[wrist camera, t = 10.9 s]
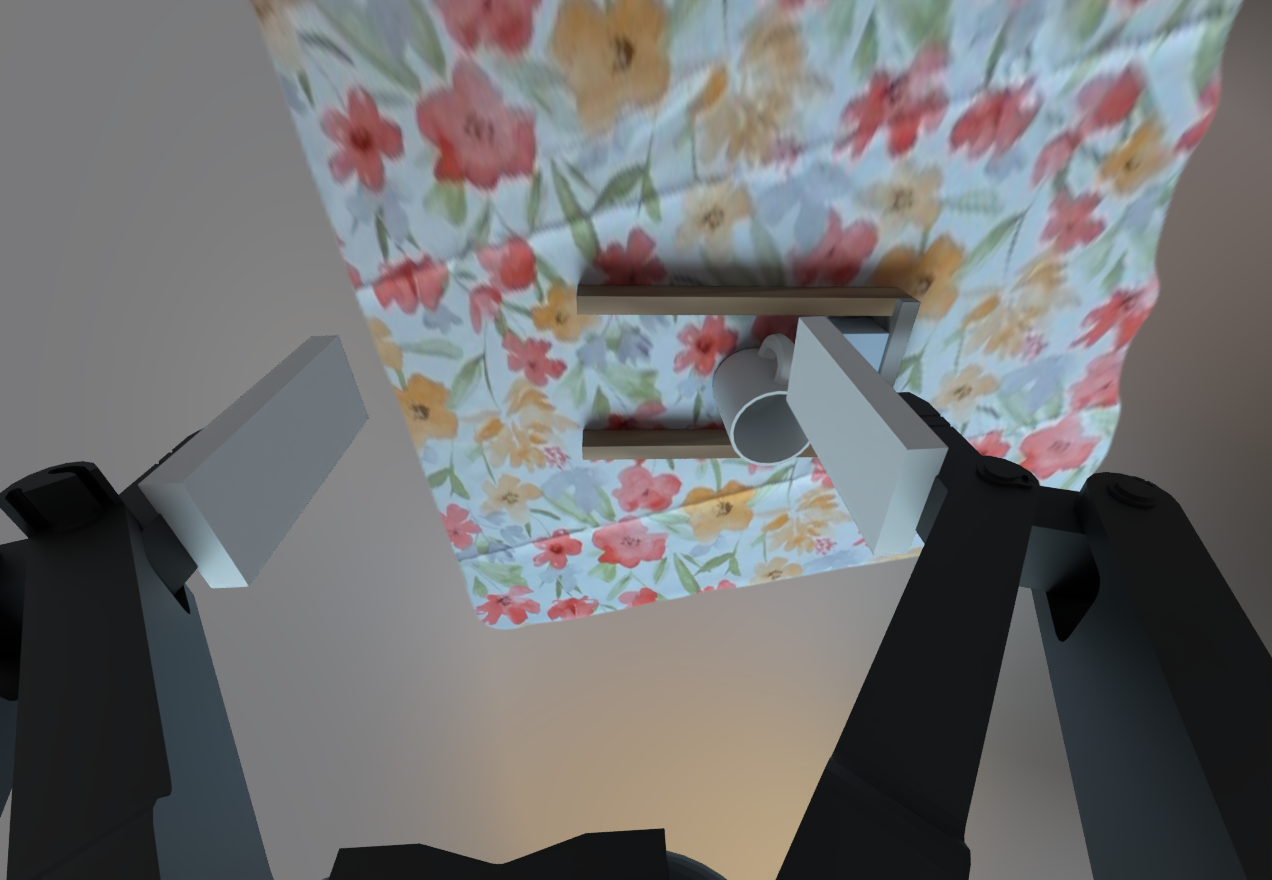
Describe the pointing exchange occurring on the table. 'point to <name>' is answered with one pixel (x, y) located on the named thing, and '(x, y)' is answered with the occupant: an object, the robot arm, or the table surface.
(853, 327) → the block
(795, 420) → the cup
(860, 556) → the table surface
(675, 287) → the channel
